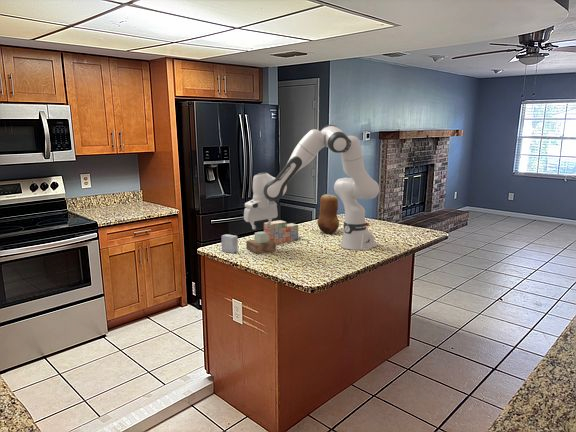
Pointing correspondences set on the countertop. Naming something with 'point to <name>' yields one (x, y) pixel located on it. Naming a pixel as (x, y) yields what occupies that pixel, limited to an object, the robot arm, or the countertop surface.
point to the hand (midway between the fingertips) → (261, 227)
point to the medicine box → (229, 243)
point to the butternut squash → (328, 214)
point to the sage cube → (261, 237)
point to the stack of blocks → (281, 231)
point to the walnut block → (260, 246)
